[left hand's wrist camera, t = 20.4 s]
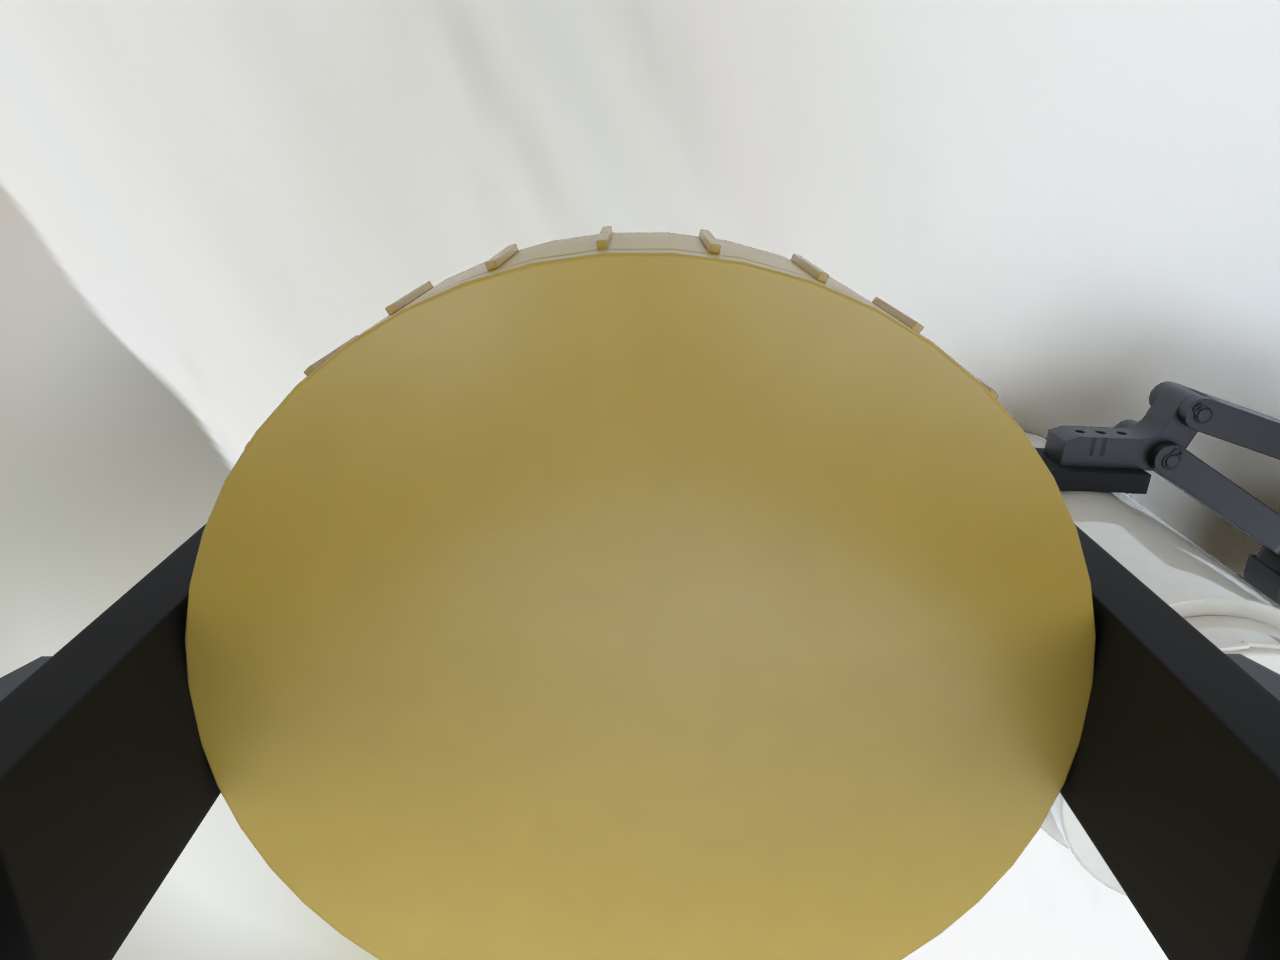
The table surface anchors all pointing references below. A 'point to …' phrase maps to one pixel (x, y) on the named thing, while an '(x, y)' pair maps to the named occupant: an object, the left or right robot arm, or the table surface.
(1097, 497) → the jar
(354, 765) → the lid
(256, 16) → the table surface
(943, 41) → the table surface
